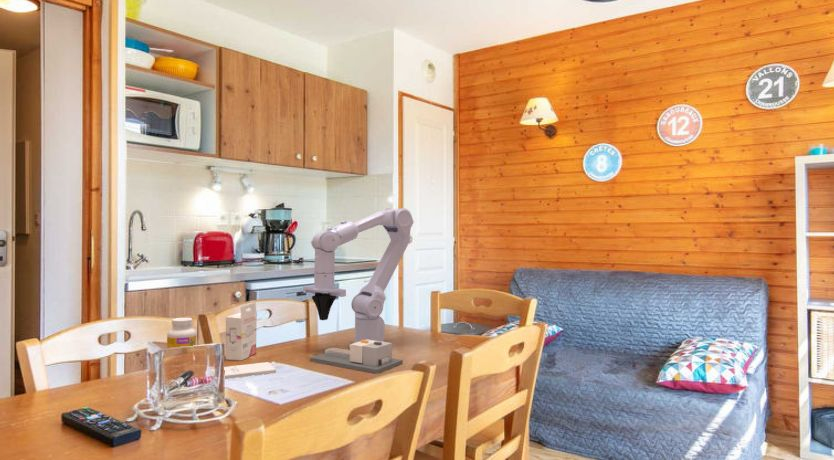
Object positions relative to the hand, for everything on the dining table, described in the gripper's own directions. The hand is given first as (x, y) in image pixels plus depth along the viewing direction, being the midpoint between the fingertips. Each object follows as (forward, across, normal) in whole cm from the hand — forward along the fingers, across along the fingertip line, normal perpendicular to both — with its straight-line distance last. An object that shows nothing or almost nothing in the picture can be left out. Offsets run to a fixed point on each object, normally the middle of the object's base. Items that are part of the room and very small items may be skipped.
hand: (323, 319), depth 157 cm
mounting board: (+9, +15, -4) cm, 18 cm away
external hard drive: (+10, -2, -27) cm, 29 cm away
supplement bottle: (+10, -16, -35) cm, 40 cm away
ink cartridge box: (+10, -15, -17) cm, 25 cm away
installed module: (+8, +22, -4) cm, 24 cm away
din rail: (+9, +15, -4) cm, 18 cm away
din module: (+8, +18, -4) cm, 20 cm away
